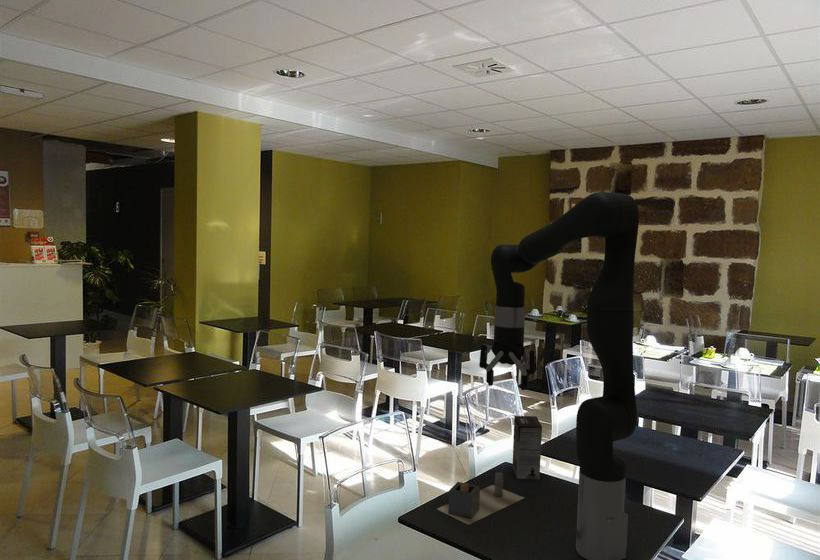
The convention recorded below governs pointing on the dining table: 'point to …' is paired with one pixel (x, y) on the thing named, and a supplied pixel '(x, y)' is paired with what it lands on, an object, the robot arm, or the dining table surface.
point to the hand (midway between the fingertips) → (506, 387)
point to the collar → (464, 501)
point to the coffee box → (527, 447)
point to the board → (487, 500)
